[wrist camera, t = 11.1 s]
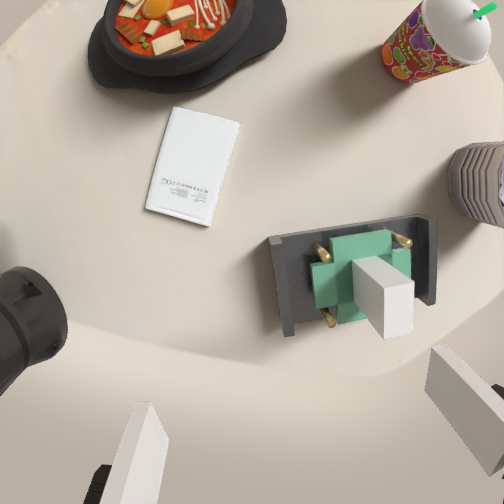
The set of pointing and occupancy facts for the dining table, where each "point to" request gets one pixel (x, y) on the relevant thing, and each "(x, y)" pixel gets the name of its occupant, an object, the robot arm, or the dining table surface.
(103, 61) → the casserole
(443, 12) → the smoothie
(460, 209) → the can
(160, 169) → the external hard drive
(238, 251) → the dining table surface
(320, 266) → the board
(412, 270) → the chassis
